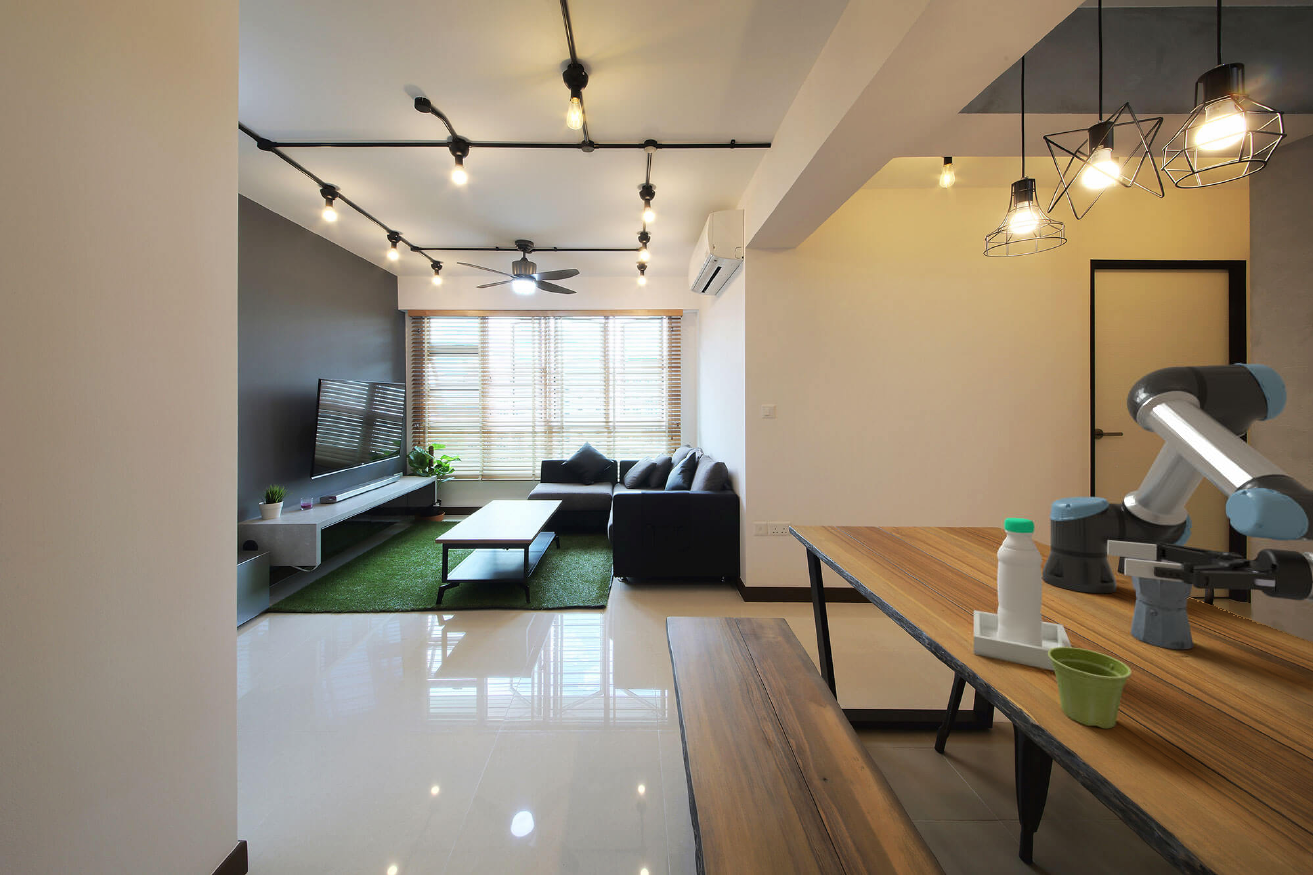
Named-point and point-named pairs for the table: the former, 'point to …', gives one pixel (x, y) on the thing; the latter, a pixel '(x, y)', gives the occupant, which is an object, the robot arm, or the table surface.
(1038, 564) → the water bottle
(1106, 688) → the plant pot
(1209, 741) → the table surface
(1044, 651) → the white tray
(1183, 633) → the moka pot
